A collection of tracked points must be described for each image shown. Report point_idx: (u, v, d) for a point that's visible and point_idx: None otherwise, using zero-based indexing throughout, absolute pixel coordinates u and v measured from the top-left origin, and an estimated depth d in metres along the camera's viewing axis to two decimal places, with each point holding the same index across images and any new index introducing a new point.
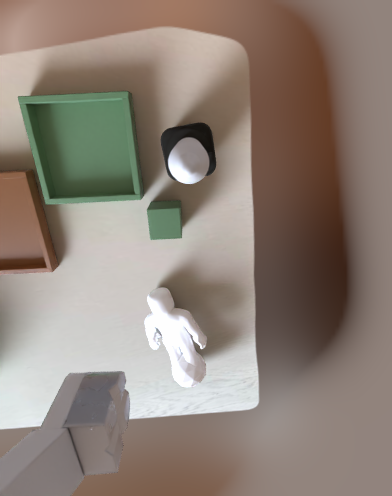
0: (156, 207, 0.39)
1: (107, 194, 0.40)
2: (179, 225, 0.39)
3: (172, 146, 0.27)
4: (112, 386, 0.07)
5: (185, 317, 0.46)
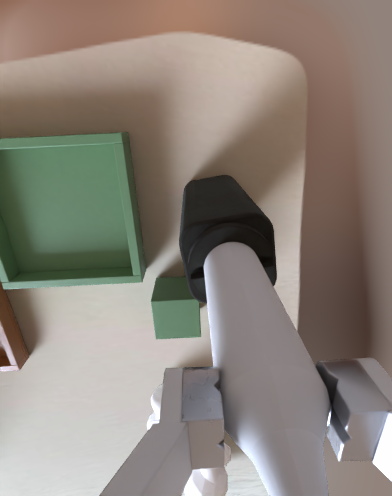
0: (164, 295, 0.27)
1: (93, 273, 0.28)
2: (198, 320, 0.27)
3: (201, 256, 0.15)
4: (215, 380, 0.07)
5: None
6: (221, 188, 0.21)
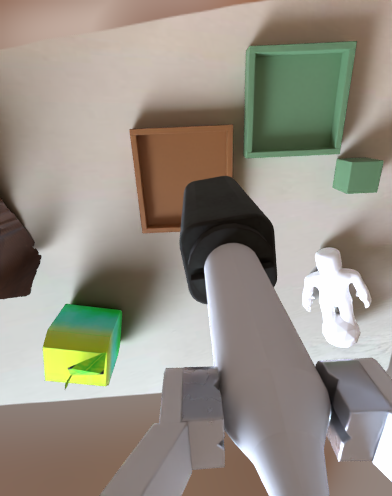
0: (357, 161, 0.40)
1: (304, 149, 0.41)
2: (379, 178, 0.40)
3: (201, 257, 0.15)
4: (215, 380, 0.07)
5: (357, 275, 0.47)
6: (221, 189, 0.21)
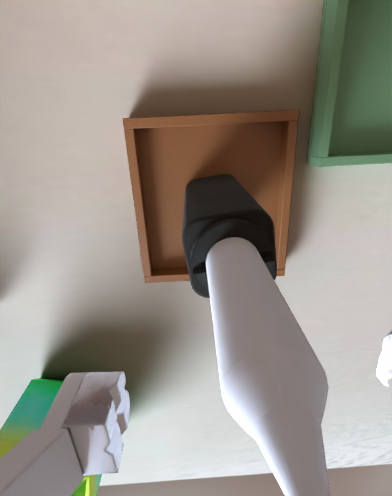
0: None
1: None
2: None
3: (203, 251, 0.15)
4: (112, 386, 0.07)
5: None
6: (222, 186, 0.21)
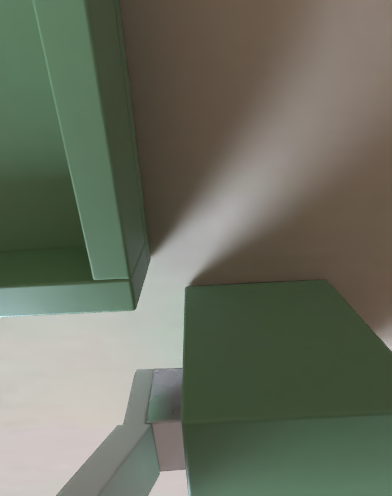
0: (244, 375, 0.06)
1: None
2: None
3: None
4: None
5: None
6: None
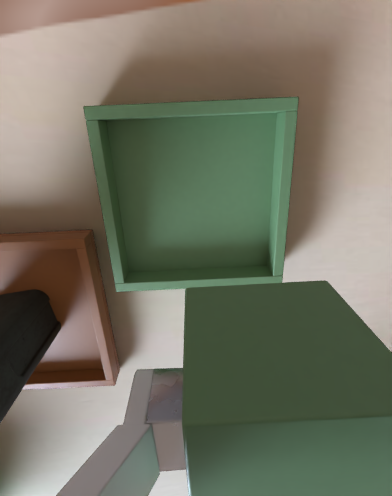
0: (244, 377, 0.06)
1: (220, 272, 0.24)
2: None
3: None
4: None
5: None
6: None
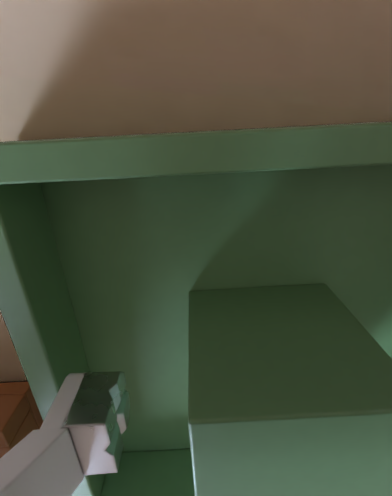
0: (246, 377, 0.06)
1: None
2: None
3: None
4: (112, 385, 0.07)
5: None
6: None
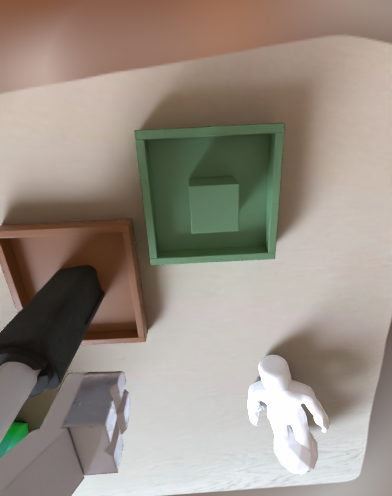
0: (202, 183, 0.26)
1: (228, 251, 0.31)
2: (237, 210, 0.26)
3: None
4: (112, 386, 0.07)
5: (310, 396, 0.37)
6: (57, 291, 0.27)
